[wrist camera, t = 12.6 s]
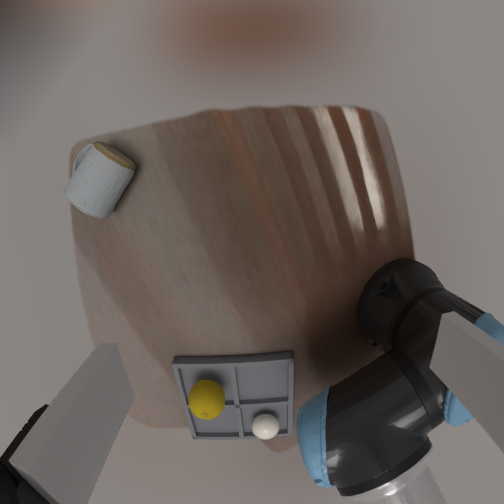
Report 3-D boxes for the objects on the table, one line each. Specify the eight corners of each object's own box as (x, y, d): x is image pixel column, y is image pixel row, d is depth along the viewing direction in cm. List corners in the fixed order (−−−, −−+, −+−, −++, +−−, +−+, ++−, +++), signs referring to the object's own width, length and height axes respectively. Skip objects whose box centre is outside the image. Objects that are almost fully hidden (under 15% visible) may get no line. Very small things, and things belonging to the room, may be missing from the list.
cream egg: (278, 407, 43) (280, 426, 38) (278, 424, 44) (280, 443, 39) (250, 409, 43) (250, 428, 38) (251, 426, 44) (252, 445, 39)
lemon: (233, 386, 42) (232, 419, 34) (207, 400, 42) (203, 433, 34) (210, 364, 41) (205, 397, 33) (185, 380, 41) (176, 412, 33)
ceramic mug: (147, 167, 35) (123, 162, 28) (117, 217, 37) (90, 223, 29) (96, 132, 34) (68, 123, 26) (70, 179, 35) (39, 179, 28)
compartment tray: (291, 350, 42) (293, 358, 39) (290, 427, 45) (292, 435, 43) (174, 356, 41) (171, 363, 39) (194, 431, 45) (192, 439, 43)
